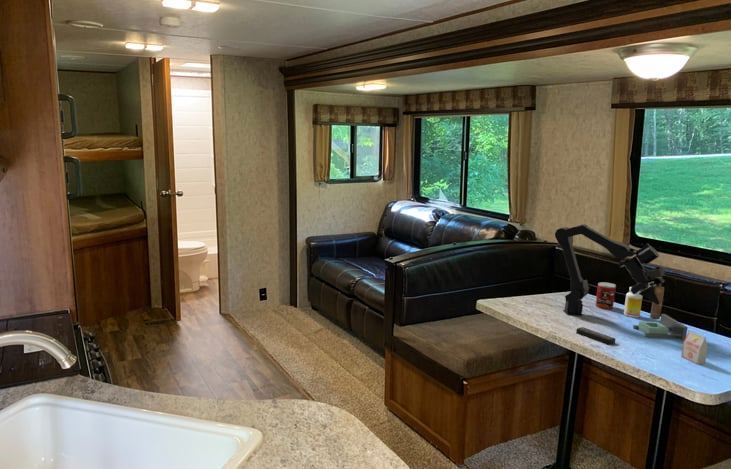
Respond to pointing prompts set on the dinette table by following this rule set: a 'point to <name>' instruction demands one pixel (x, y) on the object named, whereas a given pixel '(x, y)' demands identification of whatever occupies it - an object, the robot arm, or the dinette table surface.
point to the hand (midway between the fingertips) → (660, 303)
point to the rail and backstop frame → (674, 327)
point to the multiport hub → (596, 336)
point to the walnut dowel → (656, 308)
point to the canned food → (605, 295)
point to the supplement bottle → (633, 304)
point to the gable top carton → (695, 348)
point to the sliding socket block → (652, 328)
